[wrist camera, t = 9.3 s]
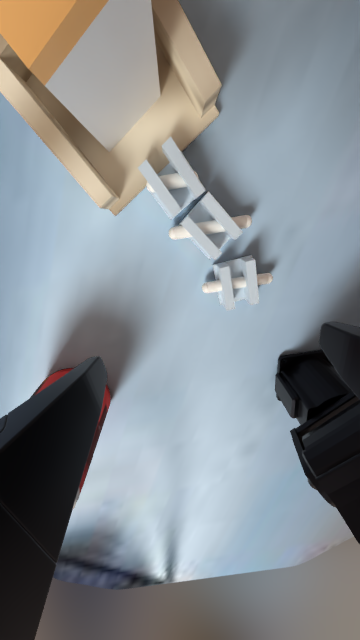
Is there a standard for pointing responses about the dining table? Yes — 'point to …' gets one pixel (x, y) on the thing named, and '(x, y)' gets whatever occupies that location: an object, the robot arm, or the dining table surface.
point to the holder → (146, 135)
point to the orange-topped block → (89, 57)
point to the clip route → (204, 226)
